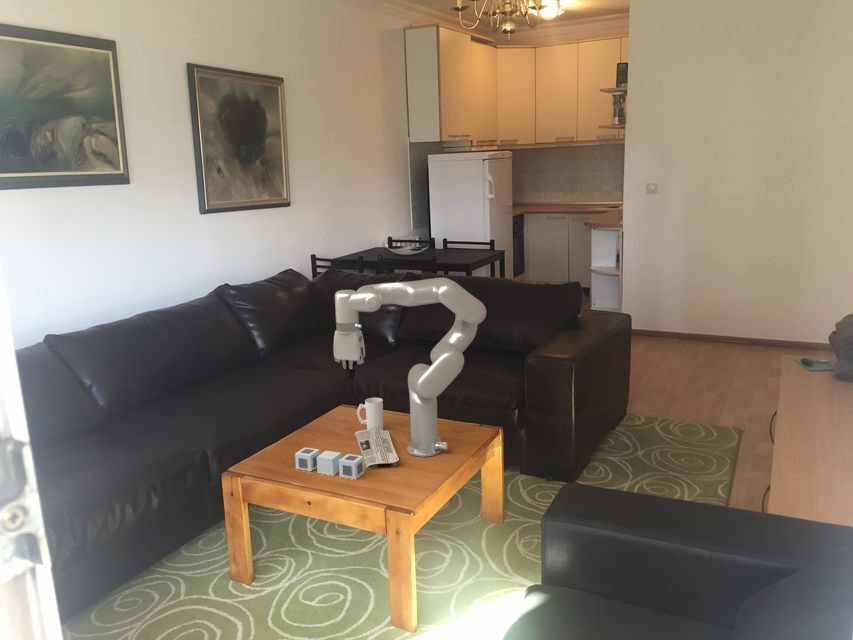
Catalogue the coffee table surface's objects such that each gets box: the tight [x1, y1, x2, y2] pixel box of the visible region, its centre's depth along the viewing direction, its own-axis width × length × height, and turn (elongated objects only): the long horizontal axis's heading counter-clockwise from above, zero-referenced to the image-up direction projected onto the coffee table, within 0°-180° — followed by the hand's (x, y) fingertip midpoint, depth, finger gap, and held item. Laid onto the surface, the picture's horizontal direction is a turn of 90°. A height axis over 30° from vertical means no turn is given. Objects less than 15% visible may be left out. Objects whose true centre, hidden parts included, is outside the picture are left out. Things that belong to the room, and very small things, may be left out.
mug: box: [356, 397, 384, 430], centre depth 284 cm, size 10×7×12 cm, turn 98°
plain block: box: [316, 450, 343, 477], centre depth 246 cm, size 6×6×6 cm
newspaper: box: [354, 429, 400, 470], centre depth 264 cm, size 35×12×4 cm, turn 12°
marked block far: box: [294, 446, 321, 471], centre depth 250 cm, size 6×6×6 cm
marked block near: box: [338, 453, 365, 481], centre depth 243 cm, size 6×6×6 cm
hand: (350, 379), depth 251 cm, fingers closed
